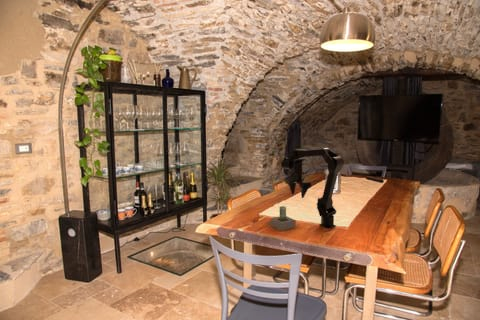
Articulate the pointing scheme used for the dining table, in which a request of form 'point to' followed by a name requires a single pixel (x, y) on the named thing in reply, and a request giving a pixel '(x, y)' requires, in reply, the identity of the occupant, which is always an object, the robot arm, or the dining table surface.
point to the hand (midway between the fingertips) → (297, 196)
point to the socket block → (282, 223)
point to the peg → (282, 213)
